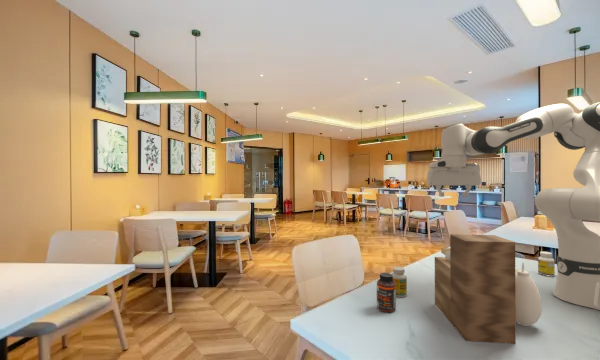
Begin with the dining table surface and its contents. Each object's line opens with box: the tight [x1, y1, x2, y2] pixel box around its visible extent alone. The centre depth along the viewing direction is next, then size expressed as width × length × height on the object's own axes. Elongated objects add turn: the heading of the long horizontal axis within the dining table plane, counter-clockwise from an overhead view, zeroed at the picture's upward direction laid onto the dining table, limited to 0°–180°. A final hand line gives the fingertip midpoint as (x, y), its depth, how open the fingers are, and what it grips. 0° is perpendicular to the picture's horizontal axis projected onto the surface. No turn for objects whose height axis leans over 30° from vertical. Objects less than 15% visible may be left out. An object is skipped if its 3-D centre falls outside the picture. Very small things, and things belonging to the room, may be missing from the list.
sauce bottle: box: [515, 262, 543, 327], centre depth 79 cm, size 8×8×18 cm
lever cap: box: [440, 247, 450, 262], centre depth 89 cm, size 7×16×2 cm, turn 174°
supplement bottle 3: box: [537, 251, 556, 277], centre depth 120 cm, size 5×5×10 cm
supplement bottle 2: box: [391, 266, 408, 298], centre depth 100 cm, size 5×5×10 cm
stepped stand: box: [434, 233, 517, 345], centre depth 80 cm, size 12×21×26 cm, turn 174°
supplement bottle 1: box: [376, 272, 397, 314], centre depth 88 cm, size 6×6×11 cm
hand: (453, 196), depth 113 cm, fingers open, 8 cm apart
